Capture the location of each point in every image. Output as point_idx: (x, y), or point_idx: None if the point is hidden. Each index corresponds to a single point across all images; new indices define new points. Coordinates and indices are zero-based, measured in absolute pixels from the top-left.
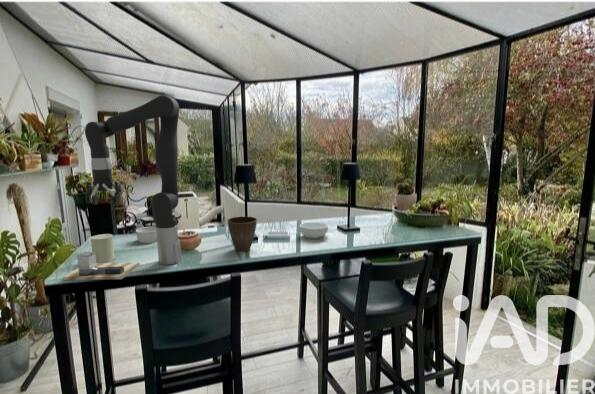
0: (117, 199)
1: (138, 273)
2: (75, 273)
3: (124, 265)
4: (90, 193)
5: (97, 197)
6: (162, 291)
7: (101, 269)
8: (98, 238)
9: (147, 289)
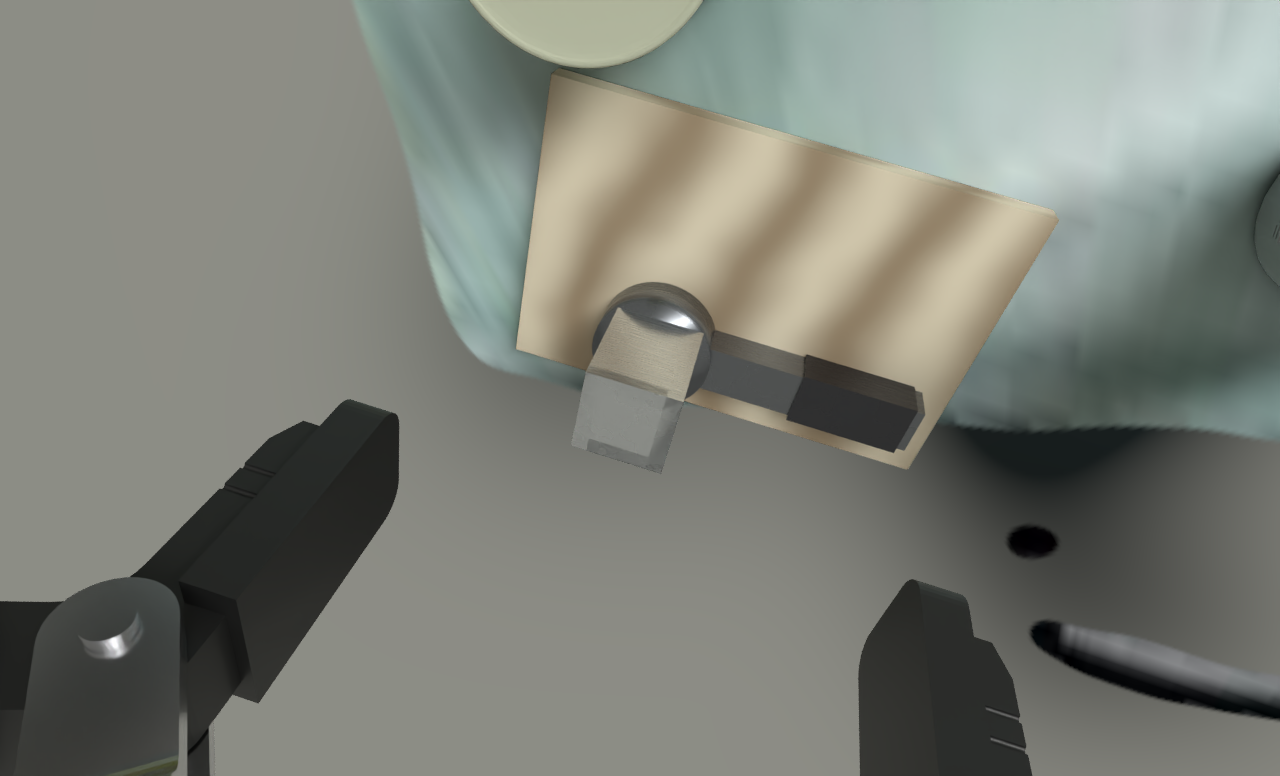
0: (1017, 756)
1: (1026, 398)
2: (569, 308)
3: (913, 255)
4: (17, 751)
5: (275, 554)
6: (1142, 675)
7: (760, 403)
8: (569, 16)
9: (1063, 629)
